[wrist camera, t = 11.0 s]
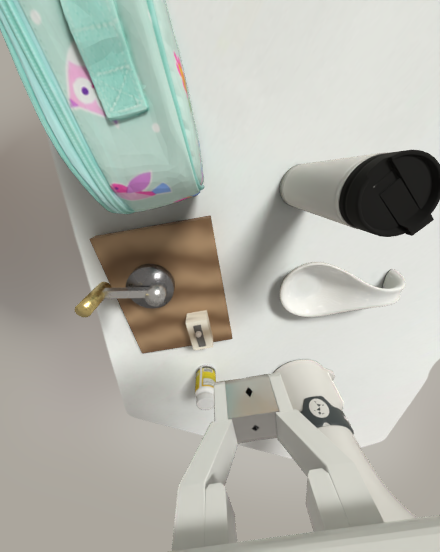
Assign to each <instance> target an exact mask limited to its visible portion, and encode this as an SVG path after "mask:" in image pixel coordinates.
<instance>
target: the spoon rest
mask: <svg viewBox="0 0 440 552" xmlns="http://www.w3.org/2000/svg"><path fill="white" fill-rule="evenodd" d="M405 285H406V282H405V279H404V277H403V276H402V274H400V273H399V272H398V271H397V270H395V269H391V270H390V271H389V272H388V274H387V275H386V278H385V281H384V284H383V288H378V287H375V286H372V285H370V284H368V283H366V282H364V281H362V280H361V279H359V278H357V277H356V276H354V275H352V274H350V273H349V272H347V271H345V270H343V269H341V268H339V267H336V266H334V265H331V264H327V263H322V262H311V263H306V264H303V265H300V266H298V267H297V268H295V269H293V270H292V271H291V272H290V273H289V274H288V275H287V276H286V277H285V279H284V280H283V282H282V285H281V288H280V301H281V303H282V305H283V307H284V308H285V309H286V310H287V311H288V312H290V313H292V314H294V315H297V316H302V317H317V316H325V315H331V314H336V313H342V312H348V311H354V310H360V309H367V308H374V307H382V306H388V305H391V304H394V303H396V302H397V301H398V300H399V299H400V295H401V292H402V290H403V289H404V287H405Z"/></svg>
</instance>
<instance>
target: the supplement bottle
mask: <svg viewBox="0 0 440 552" xmlns="http://www.w3.org/2000/svg"><path fill="white" fill-rule="evenodd" d="M214 382H216V376H215V369H214V368H213V367H212V366H210V365H202V366H200V367H199V368H198V369H197V371H196V386H195V396H196V398H197V399H196V405H197V407H198V408H199V409H201V410H209V409H211V408H213V407H214Z"/></svg>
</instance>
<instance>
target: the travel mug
mask: <svg viewBox="0 0 440 552" xmlns="http://www.w3.org/2000/svg"><path fill="white" fill-rule="evenodd" d="M280 194H281V197H282V199H283V200H284V202H285V203H286V204H288V205H290V206H293V207H296V208H299V209H301V210H304V211H307V212H310V213H313V214H316V215H319V216H321V217H324V218H327V219H330V220H333V221H336V222H338V223H341V224H344V225H347V226H350V227H353V228H356V229H360V230H363V231H366V232H369V233H372V234H375V235H378V236H384V237H391V236H397V235H401V234H404V233H406V234H408V235H414V234H415V233H417V232H418V231H419V230H421V229H422V228H423V227H425V226H426V225H427V224H429V223H430V222H431V221H433V220H434V219H433V217H432V215H431V213H432V212H433V211H434V209H435V208H436V206H437V204H438V202H439V200H440V164H439V163H438V161H437V160H436V159H435V158H434V157H433V156H432V155H430V154H429V153H426V152H423V151H420V150H407V151H399V152H392V153H378V154H371V155H364V156H357V157H349V158H342V159H335V160H328V161H320V162H313V163H306V164H299V165H296V166H293V167H292V168H290V169H289V170H288V171H287V172H286V173H285V175H284V176H283V178H282V180H281V184H280Z"/></svg>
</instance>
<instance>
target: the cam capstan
mask: <svg viewBox="0 0 440 552" xmlns="http://www.w3.org/2000/svg"><path fill="white" fill-rule="evenodd" d="M174 289H175V281H174V278H173V276H172V275H171V273H170V272H169V271H168V270H167V269H165V268H164V267H162V266H160V265H157V264H143V265H141V266H139V267H137V268H136V269H135V270H134V271H133V272H132V273H131V275H130V276H129V277H128V279H127V282H126V287H120V288H112V287H111V285H110V284H109V283H107V282H101V283H100V284H99V285H98V286H96V287H95V288H94V289H93V290H92V291H91V292H90V293H89V294H88V295H87V296H86V297H85V298H84V299H83V300H82V301H81V302H80V303H79V304H78V305H77V306H76V307H75V312H76V314H78V315H79V316H81V317H88V316H90V315H91V313H92V312H93V311H94V310H95V309H96V308H97V307H98V305H99V304H100V303H101V302H102V301H103V300H104V299H113V298H131V299H132V300H133V301H134V302H135V303H136V304H138V305H140V306H142V307H145V308H152V309H154V308H160V307H162V306H164V305H166V304H167V303H168V302H169V301H170V300H171V298H172V296H173V293H174Z"/></svg>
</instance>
